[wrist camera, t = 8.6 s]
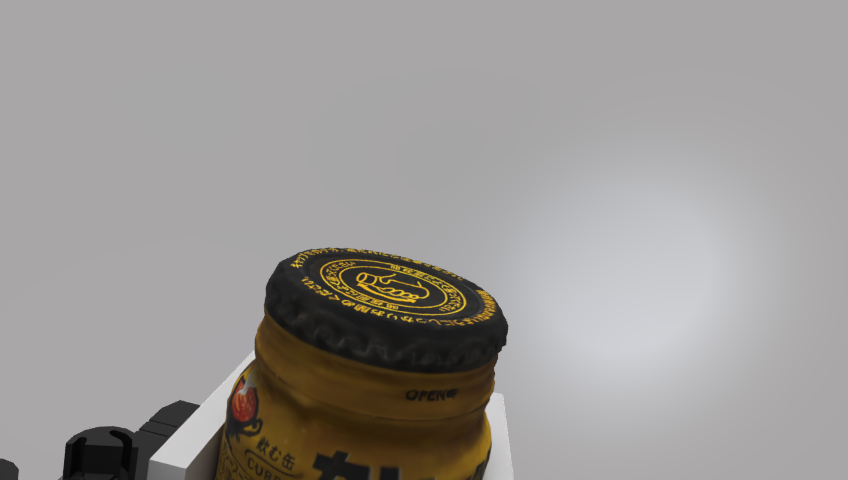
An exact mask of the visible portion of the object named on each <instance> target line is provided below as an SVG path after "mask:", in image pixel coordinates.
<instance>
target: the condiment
mask: <svg viewBox="0 0 848 480" xmlns="http://www.w3.org/2000/svg"><path fill="white" fill-rule="evenodd" d="M264 312H265V316H264V318H263V320H262V322H261V323H260V325H259V327H258V330H257V334H256V337H255V359H254V360H252V361H251V362H250V363H249V365H248V366H247V367H246V368H245V369H244V370H243V372H242V373H241V374H240V376H239V377H238V378H237V380H236V382H235V384H234V386H233V388H232V391H231V394H230V396H229V398H228V399H227V409H226V420H225V426H224V430H223V435H222V441H221V444H220V455H219V461H218V465H217V472H216V477H215V480H483V476H484V473H485V470H486V467H487V464H488V462H489V459H490V453H491V447H492V439H491V428H490V424H489V421H488V418H487V414H486V412H485V408H486V406H487V404H488V403H489V401H490V396H491V395H492V394H493V390H494V385H495V381H494V376H495V372H494V367H495V364H496V362H497V360H498V353H499V352H500V351H501V350H502V347H503V346H505V345H506V336H507V333H508V324H507V321H506V319H505V317H504V316H503V313H502V310H501V308H500V307H499V305H498V303H497V302H496V301H495V299H494V298H493V297H491V295H489V294H488V293H487V292H485V291H484V290H483V289H482V288H480V287H478V286H477V285H476V284H474V283H472V282H470V281H468V280H466V279H463V278H462V277H460V276H457V275H455V274H453V273H452V272H448V271H446V270H444V269H441V268H439V267H435V266H432V265H429V264H425V263H422V262H420V261H415V260H411V259H409V258H404V257H401V256H397V255H390V254H386V253H381V252H374V251H368V250H357V249H349V248H344V249H340V248H334V249H333V248H325V249H316V250H315V249H311V250H306V251H303V252H299V253H297V254H296V255H294V256H292V257H290V258H287V259H285V260H283V261H281V262H280V263H279V264H278V266H277V267H276V269H275V271H274V273H273V274H272V275H271V277H270V279H269V281H268V283H267V286H266V297H265V303H264Z"/></svg>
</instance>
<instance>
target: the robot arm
mask: <svg viewBox="0 0 848 480" xmlns="http://www.w3.org/2000/svg"><path fill="white" fill-rule="evenodd" d="M254 359H255V349H254V351H253V352H252V353H251V354H250V355H249V356H248V357H247V358H246V359H245V360H244V361H243V362H242V363H241V364H240V365H239V366H238V367H237V368H236V369H235V370H234V372H233V373H232V374H231V375H230V376H229V377H228V378H227V379H226V380H225V381H224V382H223V383H222V384H221V385H220V386H219V387H218V388H217V389H216V390H215V391H214V392H213V393H212V395H210V397H209V398H208V399H207V400H206V401H205V402H204V403H203V404H202V405H196V404H193V403H189V402H185V401H181V400H179V401H177V402H175V403H172V404H170V405H168V406H166V407H163V408H161V409H160V410H159V411H158V412H157V413H156V414H155V415H154V416H153V417H152V418H150V420H149V422H146V423H145V424H144V425H143V426H142V427H141V428H140V429H139V431H136V432H135V433H133V432H131V431H130V430H128V429H126V428H120V427H114V426H108V427H96V428H92V429H89V430H85V431H83V432H80V433H78V434H76V435H74V436H73V437H72V438H71V439H70V440H69V441H68V442H67V443H66V447H65V458H64V469H63V479H62V480H215V477H216V472H217V465H218V461H219V455H220V444H221V441H222V435H223V430H224V426H225V420H226V409H227V399H228V398H229V396H230V394H231V391H232V388H233V386H234V384H235V382H236V380H237V378H238V377H239V376H240V374H241V373H242V372H243V370H244V369H245V368H246V367H247V366H248V365H249V363H250V362H251V361H252V360H254ZM485 412H486V414H487V418H488V421H489V424H490V428H491V439H492V447H491V453H490V459H489V462H488V464H487V467H486V470H485V473H484V476H483V480H514V477H513V470H512V461H511V454H510V446H509V438H508V430H507V422H506V415H505V407H504V400H503V394H499V393H495V392H493V394H492V395H491V396H490V401H489V403H488V404H487V406H486V408H485ZM18 472H19V469H18V468H17V467H16V466H15V464H14V463H12V462H10V461H7V460H4V459H0V480H18Z"/></svg>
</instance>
